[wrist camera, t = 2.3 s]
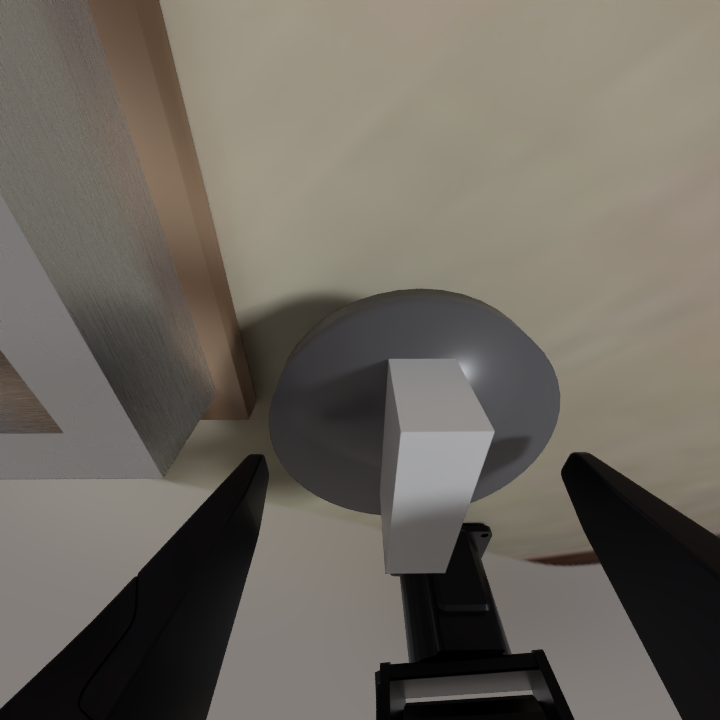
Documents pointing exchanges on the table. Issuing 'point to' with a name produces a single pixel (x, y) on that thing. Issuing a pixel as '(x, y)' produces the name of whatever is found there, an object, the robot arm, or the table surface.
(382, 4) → the table surface
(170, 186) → the walnut plate
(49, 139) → the hollow square frame
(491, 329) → the grey disc with handle
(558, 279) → the table surface
